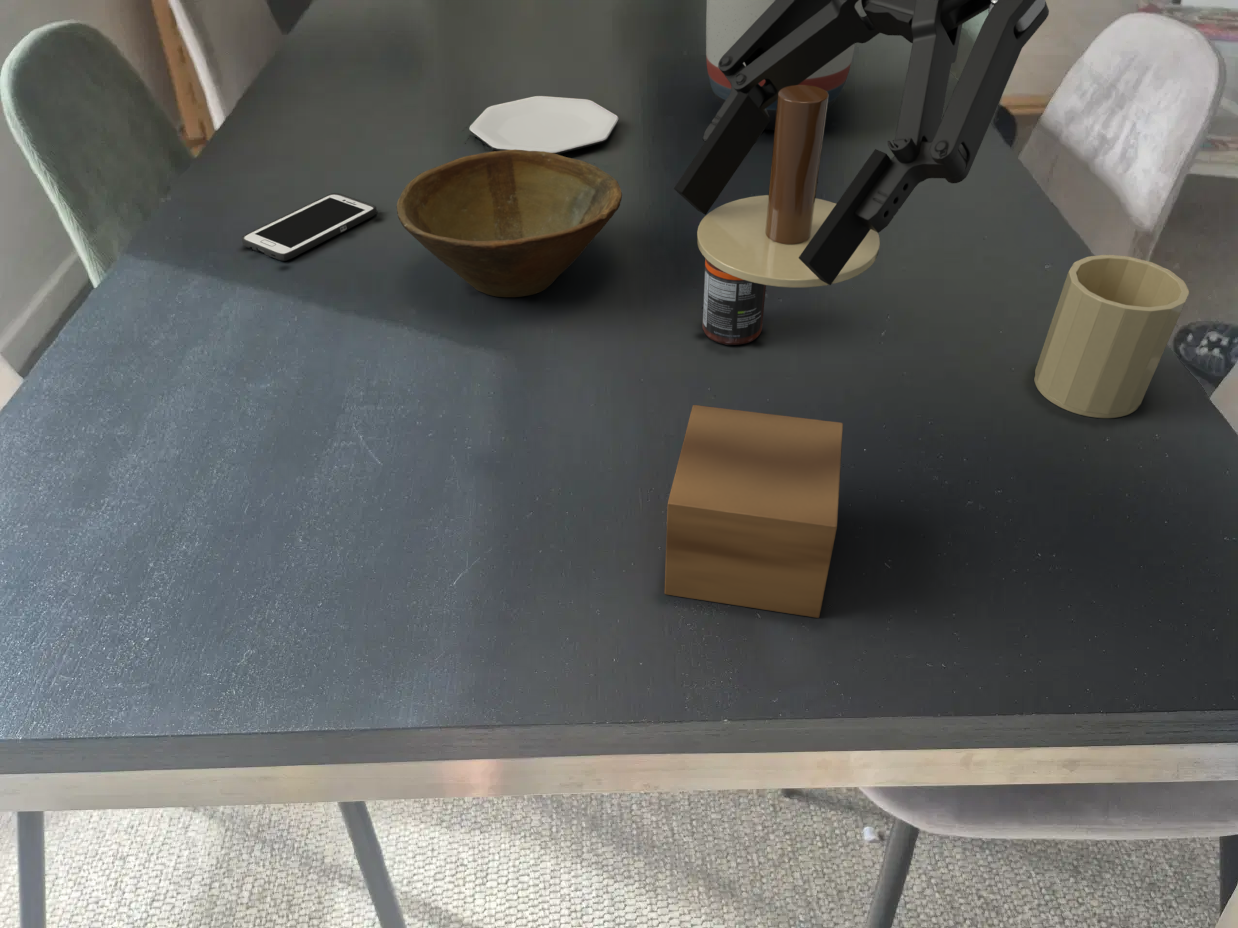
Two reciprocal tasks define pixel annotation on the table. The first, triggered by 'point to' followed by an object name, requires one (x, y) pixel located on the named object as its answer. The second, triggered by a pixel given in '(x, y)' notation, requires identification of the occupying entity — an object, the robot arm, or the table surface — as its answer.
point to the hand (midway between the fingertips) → (748, 235)
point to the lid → (782, 206)
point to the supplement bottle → (731, 307)
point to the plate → (544, 124)
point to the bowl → (509, 216)
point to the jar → (1108, 334)
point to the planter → (727, 19)
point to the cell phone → (308, 226)
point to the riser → (754, 510)
